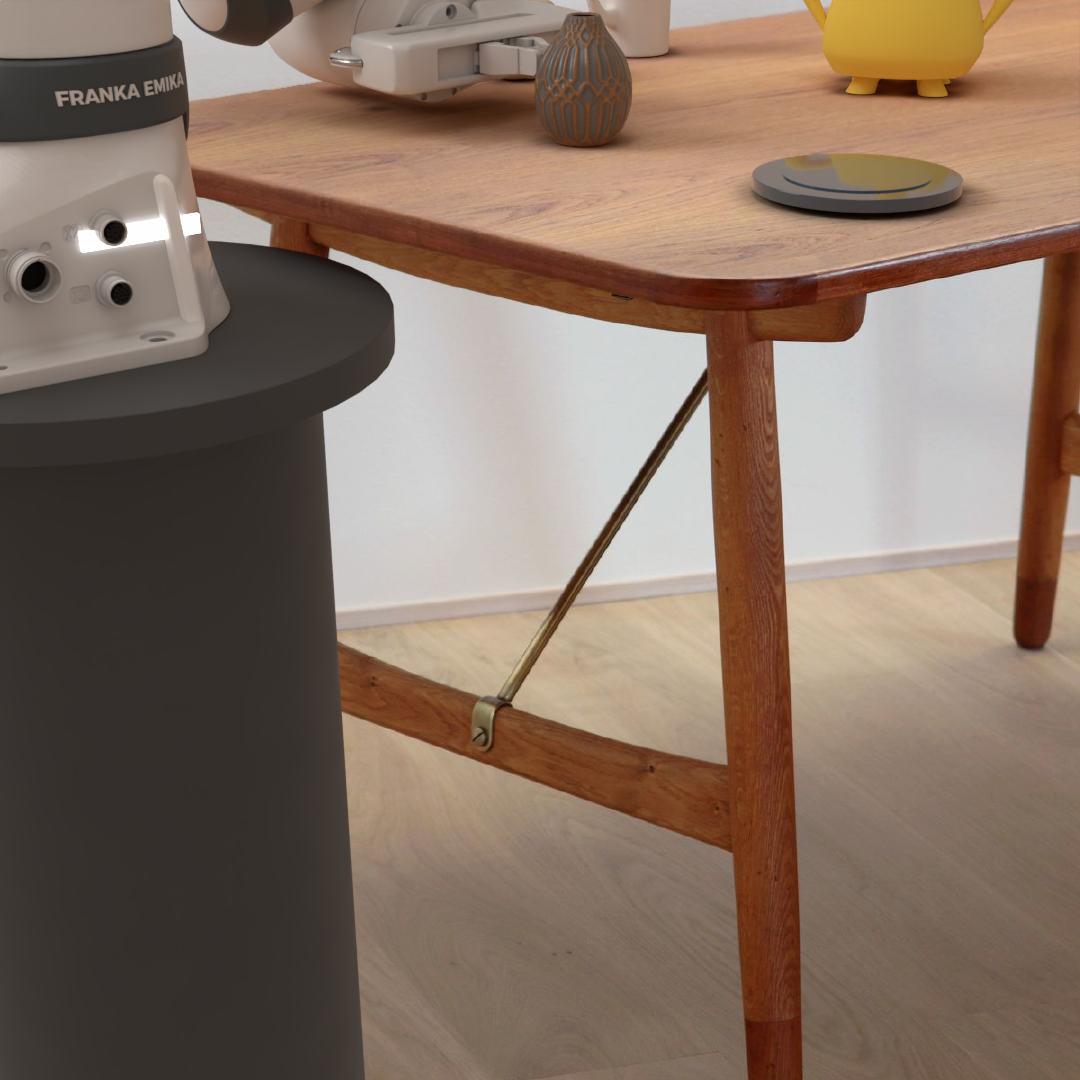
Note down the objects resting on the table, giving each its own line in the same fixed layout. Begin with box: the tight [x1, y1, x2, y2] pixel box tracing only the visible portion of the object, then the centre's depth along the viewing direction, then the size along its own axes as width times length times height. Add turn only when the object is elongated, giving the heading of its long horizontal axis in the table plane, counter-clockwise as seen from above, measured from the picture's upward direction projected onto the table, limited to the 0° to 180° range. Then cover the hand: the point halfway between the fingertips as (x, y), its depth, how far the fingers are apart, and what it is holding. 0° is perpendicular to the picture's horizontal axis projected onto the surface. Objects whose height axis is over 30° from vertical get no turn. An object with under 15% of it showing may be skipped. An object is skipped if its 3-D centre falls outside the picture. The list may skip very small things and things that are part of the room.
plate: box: [751, 152, 964, 214], centre depth 108 cm, size 13×13×1 cm
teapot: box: [802, 0, 1015, 98], centre depth 141 cm, size 14×14×12 cm
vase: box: [534, 11, 633, 147], centre depth 122 cm, size 7×7×9 cm
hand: (550, 61), depth 124 cm, fingers closed, pressing on vase
